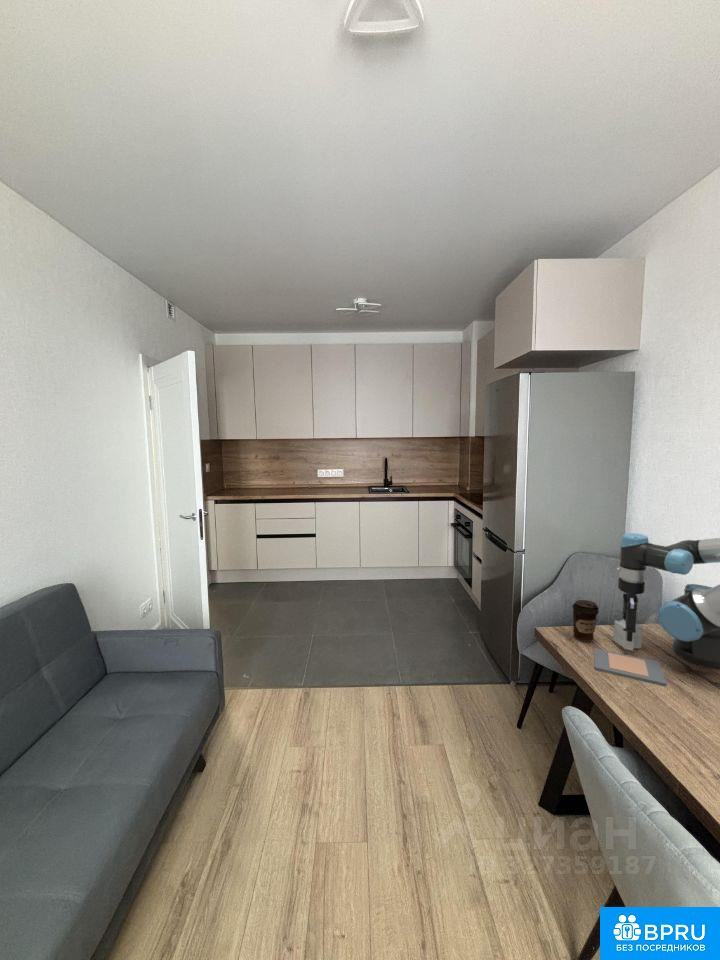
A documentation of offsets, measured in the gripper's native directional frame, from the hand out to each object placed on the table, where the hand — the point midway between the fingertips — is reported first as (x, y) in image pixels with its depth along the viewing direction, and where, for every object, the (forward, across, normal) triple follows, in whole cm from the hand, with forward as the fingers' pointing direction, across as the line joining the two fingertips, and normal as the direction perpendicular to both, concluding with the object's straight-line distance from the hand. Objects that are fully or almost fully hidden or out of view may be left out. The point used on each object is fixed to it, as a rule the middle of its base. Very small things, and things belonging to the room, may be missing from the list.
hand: (627, 643), depth 145 cm
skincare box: (+1, 0, 0) cm, 1 cm away
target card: (+1, +16, -1) cm, 16 cm away
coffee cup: (+1, +2, -13) cm, 13 cm away
